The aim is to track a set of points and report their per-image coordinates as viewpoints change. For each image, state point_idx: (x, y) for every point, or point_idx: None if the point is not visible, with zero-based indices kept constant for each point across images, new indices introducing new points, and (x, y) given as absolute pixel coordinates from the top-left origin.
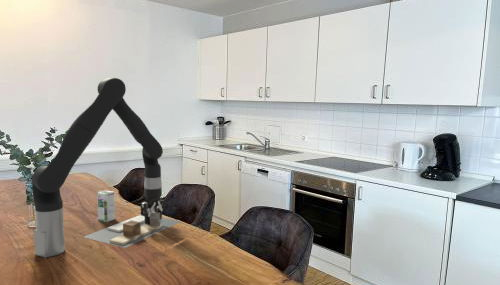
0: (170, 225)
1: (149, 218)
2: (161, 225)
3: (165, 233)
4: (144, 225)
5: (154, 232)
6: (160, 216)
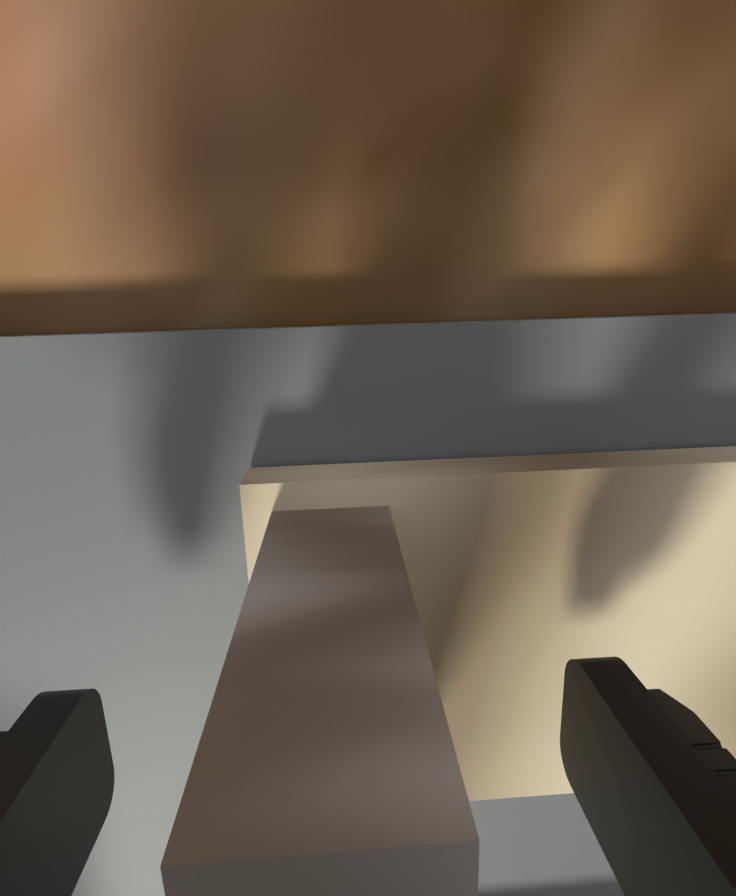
0: (6, 389)
1: (713, 808)
2: (255, 484)
3: (417, 196)
4: (472, 785)
5: (589, 389)
6: (40, 772)
